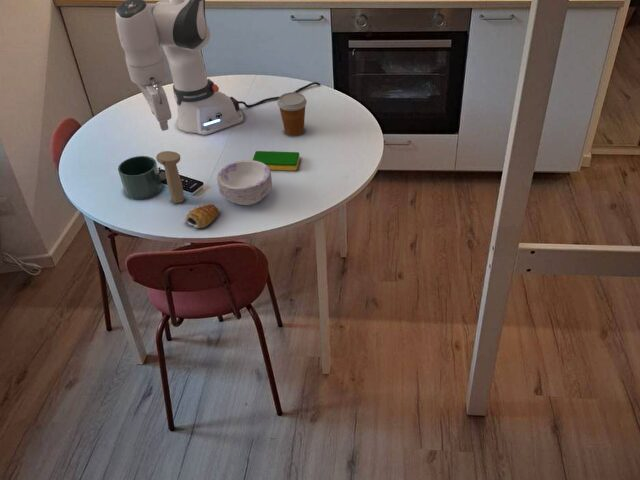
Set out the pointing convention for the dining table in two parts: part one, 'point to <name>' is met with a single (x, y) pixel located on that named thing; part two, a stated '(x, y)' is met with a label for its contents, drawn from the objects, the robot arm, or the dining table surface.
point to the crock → (140, 177)
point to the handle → (172, 174)
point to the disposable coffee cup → (292, 112)
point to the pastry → (202, 216)
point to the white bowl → (244, 181)
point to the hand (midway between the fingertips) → (160, 120)
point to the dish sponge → (278, 159)
